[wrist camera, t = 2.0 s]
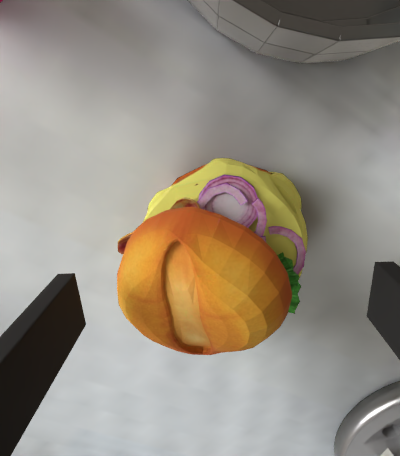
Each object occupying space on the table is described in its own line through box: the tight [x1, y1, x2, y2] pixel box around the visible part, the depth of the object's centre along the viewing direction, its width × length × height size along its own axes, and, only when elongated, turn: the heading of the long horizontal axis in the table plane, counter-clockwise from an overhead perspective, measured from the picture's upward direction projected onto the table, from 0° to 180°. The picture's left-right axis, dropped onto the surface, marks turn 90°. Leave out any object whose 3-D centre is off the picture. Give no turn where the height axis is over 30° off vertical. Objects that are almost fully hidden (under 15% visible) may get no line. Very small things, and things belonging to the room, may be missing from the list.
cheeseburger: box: [117, 158, 308, 355], centre depth 18 cm, size 10×11×10 cm
